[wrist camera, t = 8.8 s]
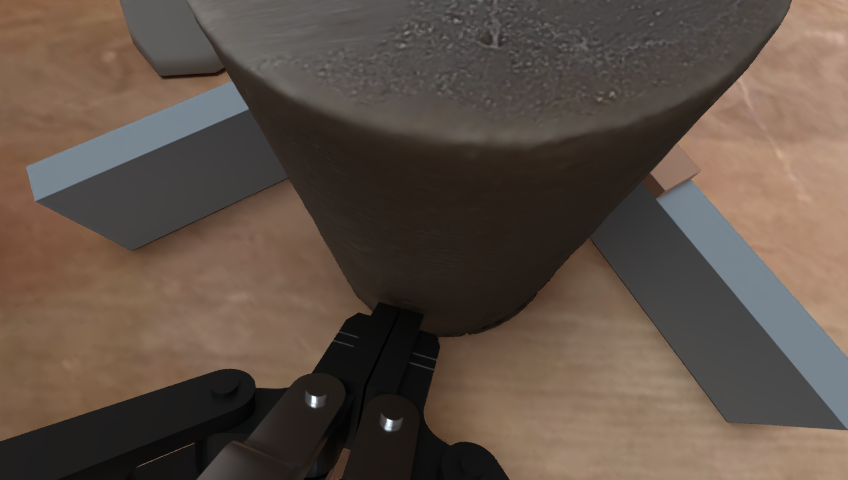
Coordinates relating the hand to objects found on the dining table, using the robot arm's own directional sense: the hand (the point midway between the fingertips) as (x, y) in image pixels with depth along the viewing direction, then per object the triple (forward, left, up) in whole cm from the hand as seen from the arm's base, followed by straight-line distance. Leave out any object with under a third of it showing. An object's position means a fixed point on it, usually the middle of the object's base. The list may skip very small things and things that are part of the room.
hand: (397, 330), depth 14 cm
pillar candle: (+4, +4, -4) cm, 7 cm away
